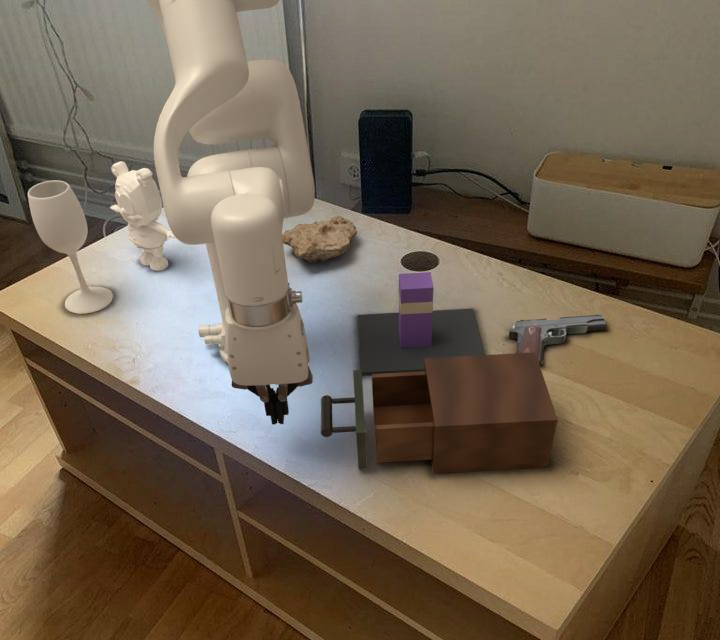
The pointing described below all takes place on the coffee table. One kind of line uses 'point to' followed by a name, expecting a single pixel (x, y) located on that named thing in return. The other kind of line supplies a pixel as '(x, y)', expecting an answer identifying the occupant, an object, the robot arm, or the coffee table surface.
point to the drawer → (389, 417)
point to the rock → (320, 239)
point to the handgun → (551, 332)
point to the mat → (385, 354)
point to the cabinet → (489, 413)
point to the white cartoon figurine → (141, 213)
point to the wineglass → (65, 237)
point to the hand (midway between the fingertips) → (278, 417)
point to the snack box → (415, 309)
